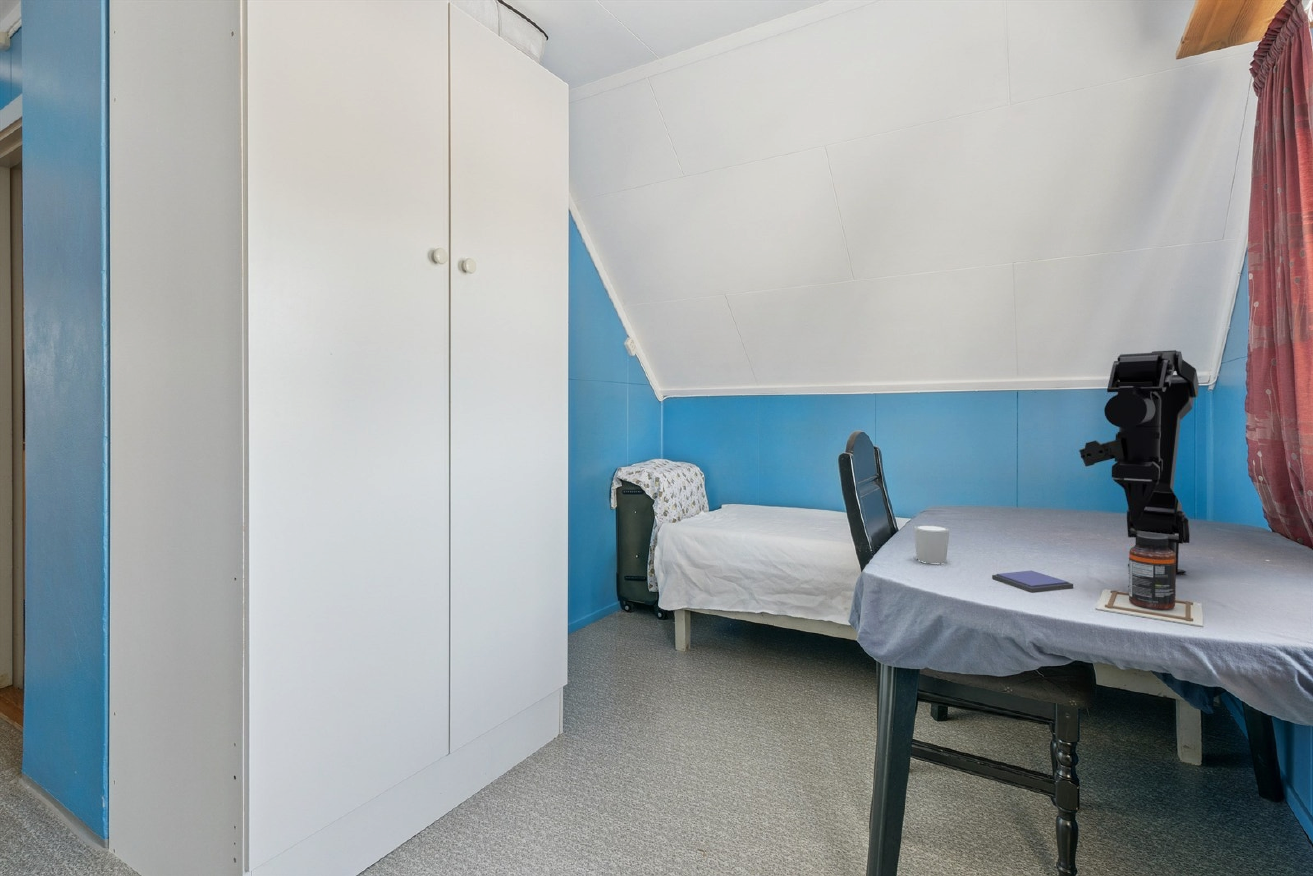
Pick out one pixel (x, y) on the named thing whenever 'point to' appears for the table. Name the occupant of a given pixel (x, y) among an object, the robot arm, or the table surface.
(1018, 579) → the ink pad
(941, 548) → the white short cylinder
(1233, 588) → the table surface
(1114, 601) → the marked sheet
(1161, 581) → the supplement bottle
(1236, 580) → the table surface
